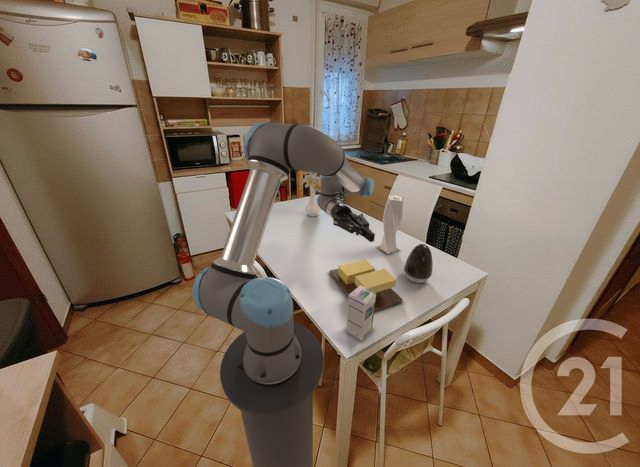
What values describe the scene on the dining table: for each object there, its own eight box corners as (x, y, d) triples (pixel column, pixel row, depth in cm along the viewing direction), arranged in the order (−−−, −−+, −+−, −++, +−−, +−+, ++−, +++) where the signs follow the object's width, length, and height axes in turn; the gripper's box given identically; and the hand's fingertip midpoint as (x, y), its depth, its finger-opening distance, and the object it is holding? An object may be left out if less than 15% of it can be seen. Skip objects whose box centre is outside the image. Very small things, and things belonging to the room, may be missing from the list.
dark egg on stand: (404, 285, 99) (411, 251, 92) (400, 269, 108) (406, 237, 101) (432, 288, 98) (442, 253, 91) (426, 271, 107) (434, 239, 100)
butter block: (346, 284, 97) (347, 276, 95) (337, 274, 102) (338, 265, 100) (373, 276, 101) (375, 268, 99) (364, 267, 107) (364, 259, 105)
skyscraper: (401, 251, 120) (411, 193, 107) (388, 256, 117) (397, 197, 104) (388, 244, 127) (396, 188, 114) (375, 248, 123) (382, 191, 110)
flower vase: (310, 222, 147) (310, 178, 135) (297, 211, 162) (296, 170, 150) (330, 218, 152) (332, 176, 141) (316, 207, 167) (317, 168, 155)
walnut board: (362, 316, 85) (363, 312, 84) (329, 273, 105) (329, 270, 104) (402, 302, 91) (402, 299, 90) (363, 264, 111) (363, 261, 110)
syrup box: (361, 341, 76) (366, 303, 69) (345, 330, 79) (348, 293, 73) (372, 329, 80) (377, 292, 73) (355, 320, 83) (359, 283, 77)
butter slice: (365, 296, 85) (366, 288, 84) (354, 283, 91) (355, 276, 89) (395, 286, 89) (396, 279, 88) (383, 275, 95) (384, 268, 94)
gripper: (352, 218, 109) (387, 244, 90) (324, 223, 104) (354, 251, 85) (354, 201, 106) (390, 224, 87) (324, 205, 101) (356, 231, 82)
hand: (372, 238), depth 86 cm, fingers closed
